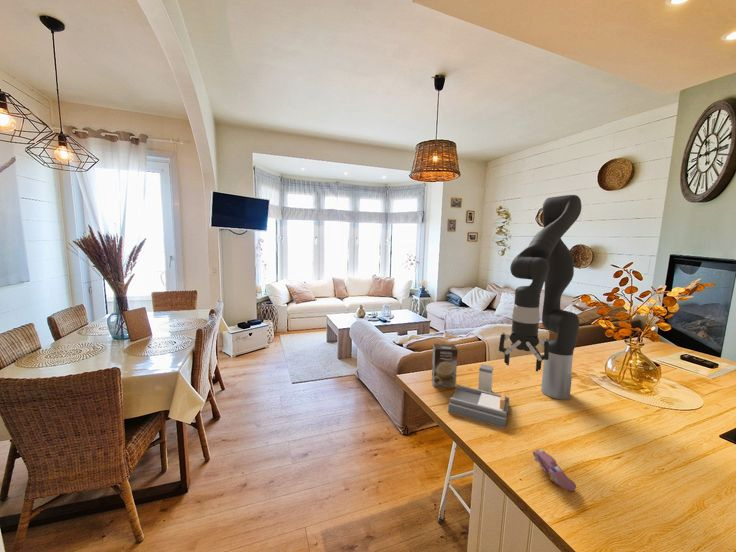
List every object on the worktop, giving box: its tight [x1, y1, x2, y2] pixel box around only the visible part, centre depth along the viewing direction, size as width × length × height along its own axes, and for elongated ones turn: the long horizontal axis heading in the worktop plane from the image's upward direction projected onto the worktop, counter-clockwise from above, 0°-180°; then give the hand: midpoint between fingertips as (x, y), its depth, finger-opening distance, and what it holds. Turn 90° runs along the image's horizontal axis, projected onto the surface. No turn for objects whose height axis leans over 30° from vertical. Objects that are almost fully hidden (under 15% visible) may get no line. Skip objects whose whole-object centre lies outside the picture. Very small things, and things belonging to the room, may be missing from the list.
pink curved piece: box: [532, 448, 577, 492], centre depth 75 cm, size 10×5×7 cm, turn 5°
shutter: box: [478, 391, 507, 411], centre depth 103 cm, size 8×9×4 cm
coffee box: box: [431, 343, 459, 388], centre depth 123 cm, size 9×6×16 cm
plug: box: [477, 364, 494, 393], centre depth 117 cm, size 4×4×10 cm
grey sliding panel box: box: [447, 384, 510, 429], centre depth 105 cm, size 18×15×4 cm
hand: (521, 367), depth 97 cm, fingers open, 8 cm apart
